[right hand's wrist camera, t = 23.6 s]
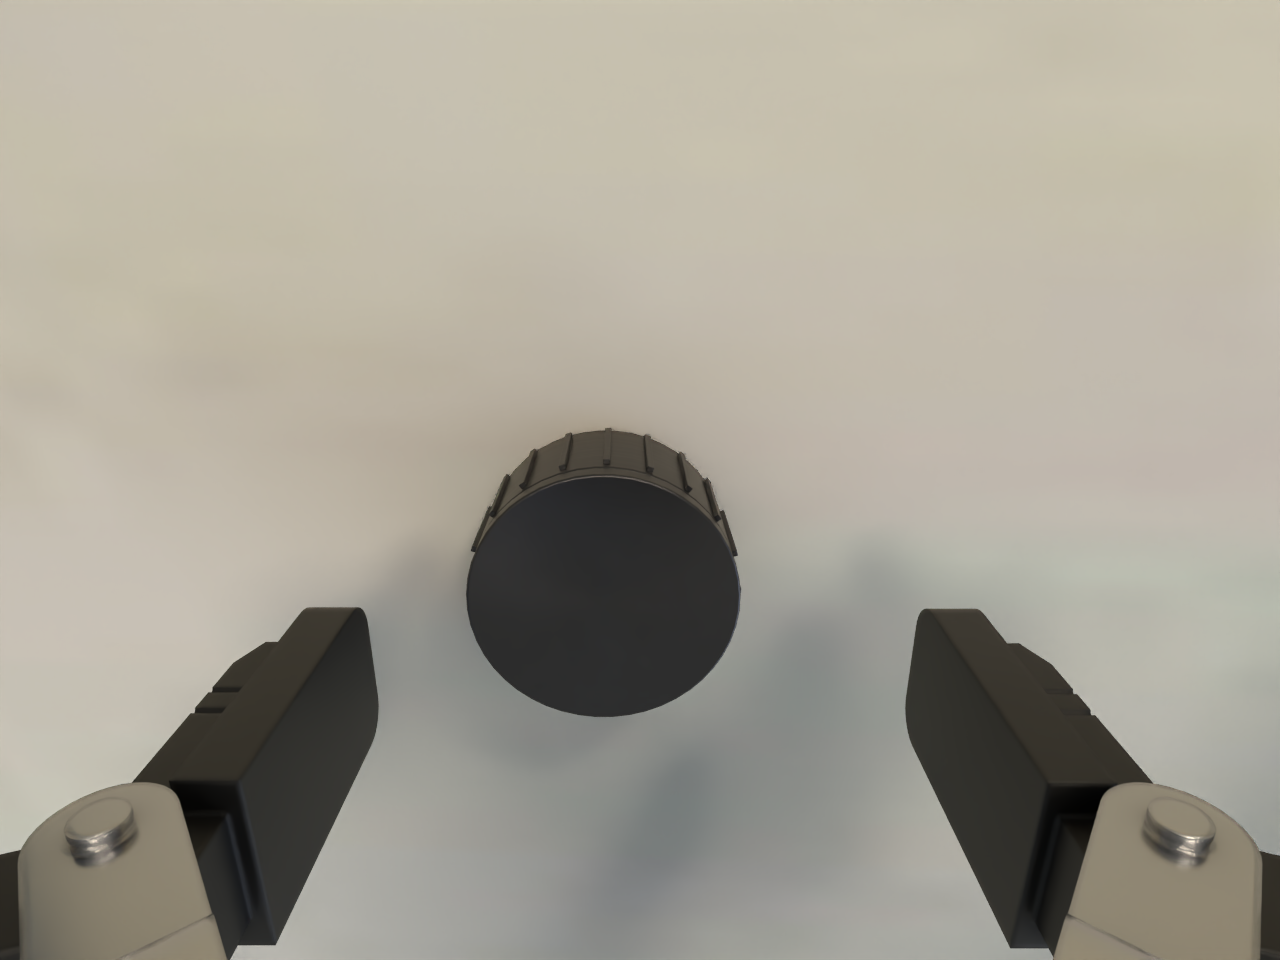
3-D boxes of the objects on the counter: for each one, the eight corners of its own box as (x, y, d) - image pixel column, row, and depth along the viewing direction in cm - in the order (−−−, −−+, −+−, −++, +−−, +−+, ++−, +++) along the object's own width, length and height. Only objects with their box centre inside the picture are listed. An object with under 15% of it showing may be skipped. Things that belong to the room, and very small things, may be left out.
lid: (555, 678, 16) (544, 757, 14) (441, 490, 15) (408, 544, 13) (762, 590, 16) (786, 659, 13) (665, 385, 14) (673, 422, 12)
